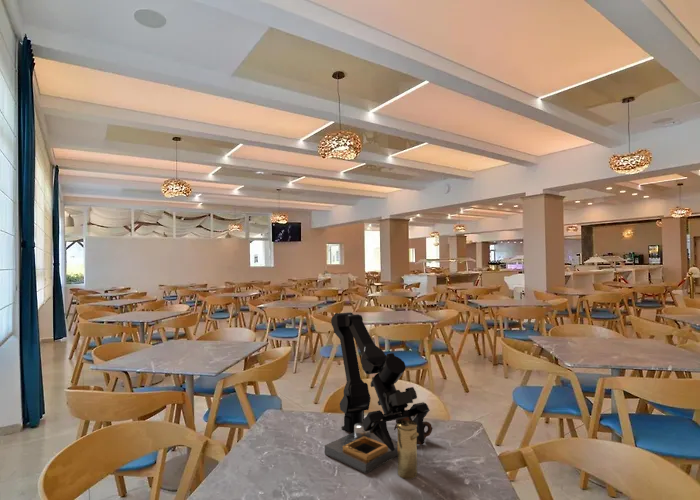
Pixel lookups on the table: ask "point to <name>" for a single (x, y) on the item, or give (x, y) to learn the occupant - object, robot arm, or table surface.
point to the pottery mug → (423, 428)
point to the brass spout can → (407, 449)
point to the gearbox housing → (361, 450)
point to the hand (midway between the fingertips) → (408, 447)
